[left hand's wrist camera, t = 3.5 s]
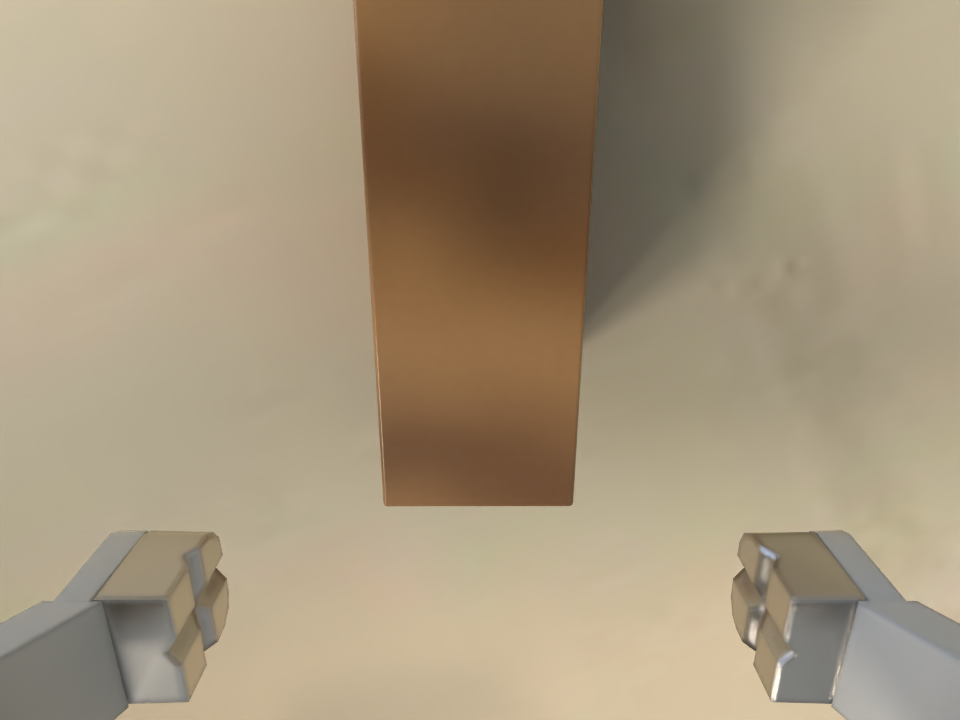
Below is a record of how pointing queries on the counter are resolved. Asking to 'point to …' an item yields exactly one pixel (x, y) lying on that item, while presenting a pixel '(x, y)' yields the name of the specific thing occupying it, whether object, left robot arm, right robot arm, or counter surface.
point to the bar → (478, 241)
